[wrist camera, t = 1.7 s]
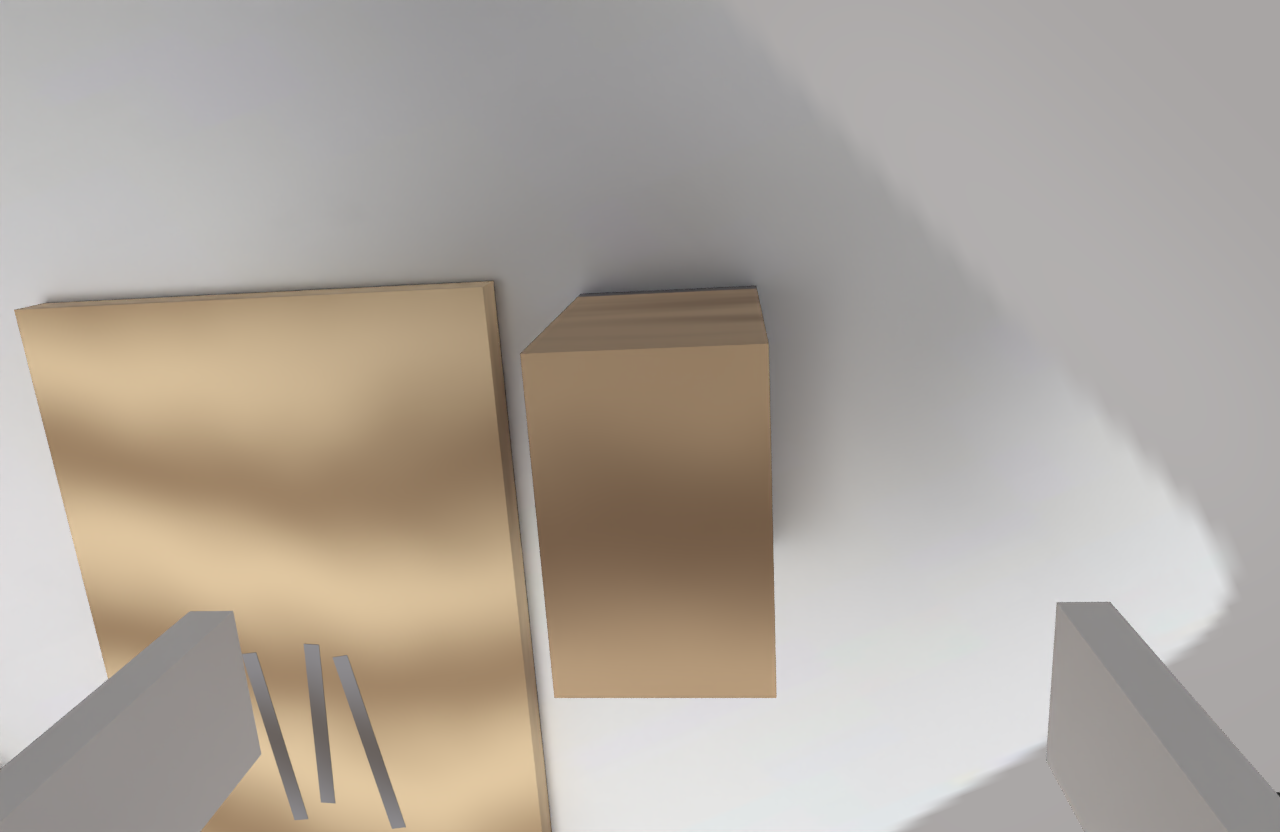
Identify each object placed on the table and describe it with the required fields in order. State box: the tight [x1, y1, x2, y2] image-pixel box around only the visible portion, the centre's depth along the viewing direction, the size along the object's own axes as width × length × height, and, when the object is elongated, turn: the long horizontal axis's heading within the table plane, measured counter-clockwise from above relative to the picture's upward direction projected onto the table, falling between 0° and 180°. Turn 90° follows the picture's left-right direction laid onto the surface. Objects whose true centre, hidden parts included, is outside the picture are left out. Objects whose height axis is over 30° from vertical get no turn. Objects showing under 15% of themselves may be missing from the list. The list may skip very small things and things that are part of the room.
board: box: [14, 281, 552, 832], centre depth 29 cm, size 23×14×1 cm, turn 3°
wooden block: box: [520, 286, 776, 698], centre depth 23 cm, size 8×5×8 cm, turn 3°
